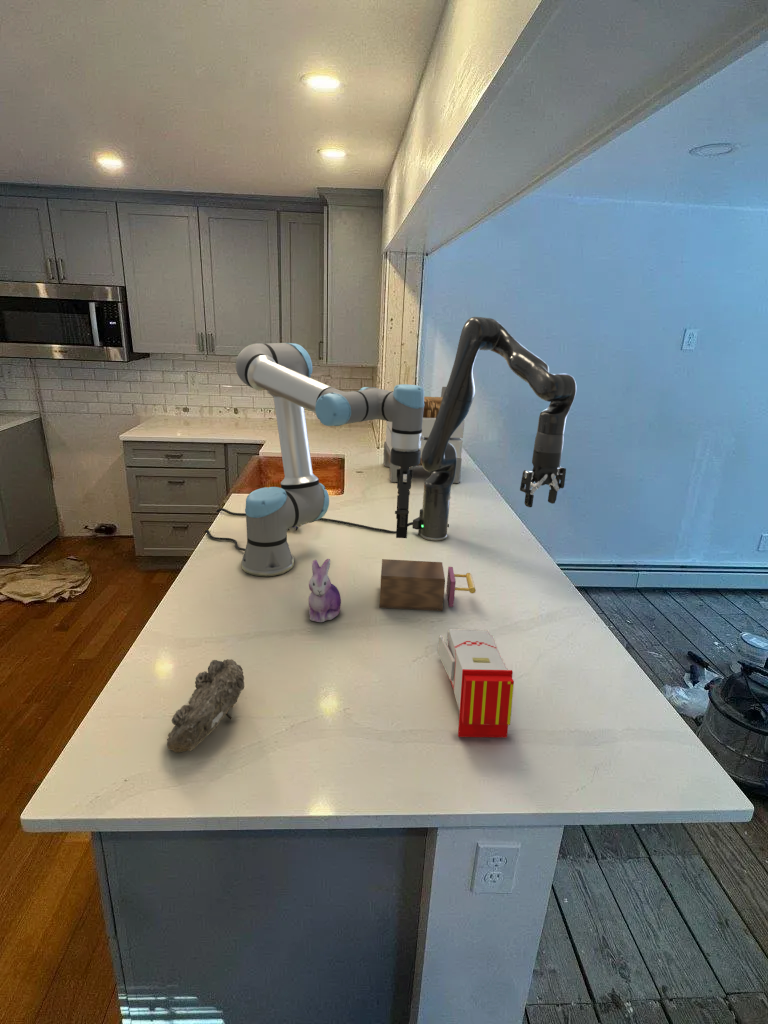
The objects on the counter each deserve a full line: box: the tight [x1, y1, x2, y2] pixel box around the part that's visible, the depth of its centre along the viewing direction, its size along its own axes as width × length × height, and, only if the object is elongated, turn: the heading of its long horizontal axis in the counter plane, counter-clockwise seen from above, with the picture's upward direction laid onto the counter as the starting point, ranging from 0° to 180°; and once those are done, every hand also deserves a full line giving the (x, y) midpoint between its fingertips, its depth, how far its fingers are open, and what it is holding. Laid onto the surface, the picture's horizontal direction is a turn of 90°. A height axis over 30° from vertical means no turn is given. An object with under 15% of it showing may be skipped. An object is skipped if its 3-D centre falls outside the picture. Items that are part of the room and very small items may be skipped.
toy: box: [437, 628, 515, 738], centre depth 117 cm, size 12×13×30 cm
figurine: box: [308, 558, 342, 623], centre depth 143 cm, size 9×10×15 cm
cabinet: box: [379, 558, 446, 612], centre depth 153 cm, size 17×10×9 cm, turn 88°
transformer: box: [383, 386, 465, 484], centre depth 268 cm, size 34×33×41 cm
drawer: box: [443, 566, 477, 608], centre depth 153 cm, size 21×9×8 cm, turn 88°
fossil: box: [166, 658, 245, 754], centre depth 106 cm, size 22×10×15 cm
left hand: (401, 527), depth 148 cm, fingers open, 13 cm apart
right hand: (539, 504), depth 160 cm, fingers open, 8 cm apart
